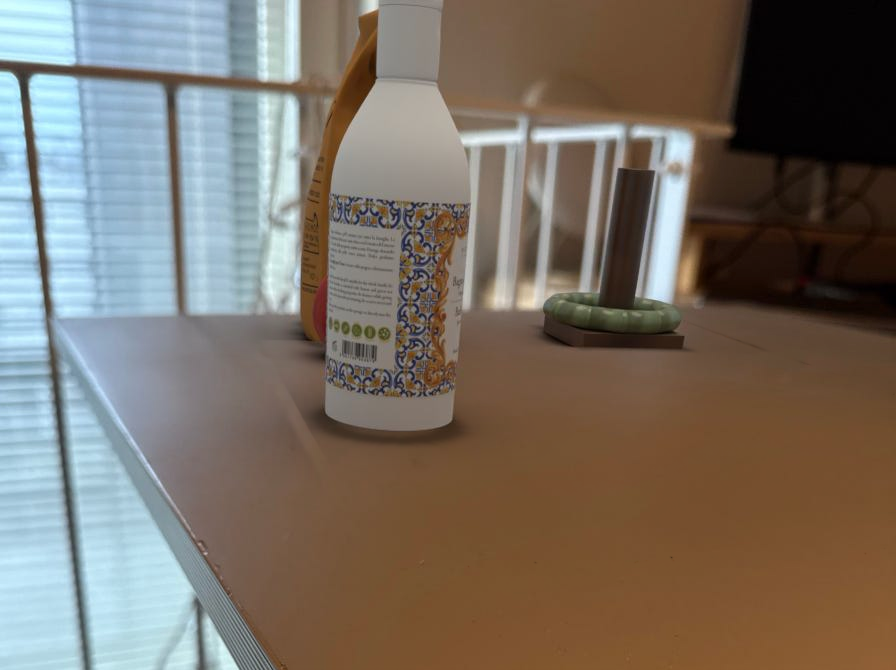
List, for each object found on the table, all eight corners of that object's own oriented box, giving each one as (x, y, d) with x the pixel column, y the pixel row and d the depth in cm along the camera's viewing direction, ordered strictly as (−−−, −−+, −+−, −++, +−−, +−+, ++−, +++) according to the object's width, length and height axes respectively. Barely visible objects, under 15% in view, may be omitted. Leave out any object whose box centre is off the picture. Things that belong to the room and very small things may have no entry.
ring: (641, 313, 89) (645, 293, 88) (704, 337, 79) (708, 314, 79) (524, 310, 86) (527, 288, 86) (574, 333, 77) (577, 310, 76)
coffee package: (414, 327, 83) (433, 27, 73) (435, 356, 72) (460, 8, 62) (298, 322, 81) (301, 15, 71) (301, 350, 71) (305, -7, 60)
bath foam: (440, 453, 49) (477, -16, 40) (309, 437, 50) (316, -25, 41) (459, 421, 55) (496, 7, 46) (342, 407, 56) (355, 0, 47)
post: (634, 334, 88) (661, 170, 82) (681, 353, 80) (715, 174, 74) (542, 331, 86) (563, 163, 80) (582, 351, 78) (608, 167, 72)
